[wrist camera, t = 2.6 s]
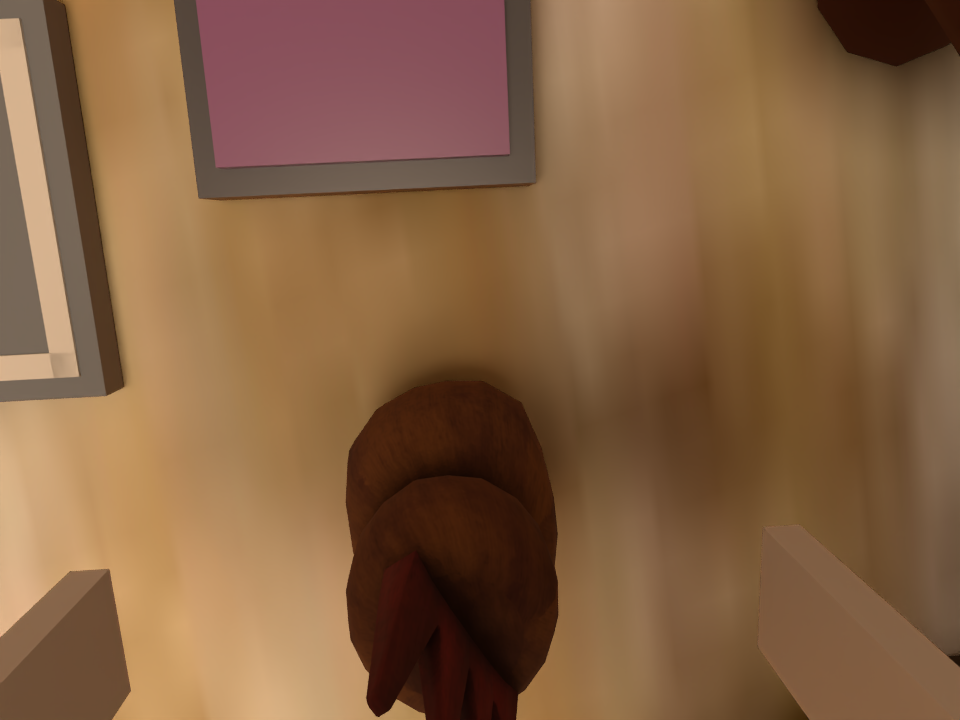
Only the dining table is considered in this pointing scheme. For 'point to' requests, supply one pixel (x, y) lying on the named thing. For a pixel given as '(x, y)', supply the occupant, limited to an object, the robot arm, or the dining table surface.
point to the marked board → (48, 220)
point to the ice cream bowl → (893, 27)
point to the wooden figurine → (451, 552)
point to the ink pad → (357, 95)
